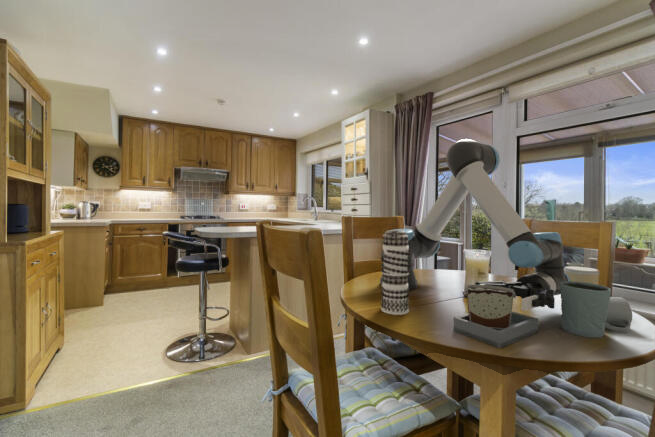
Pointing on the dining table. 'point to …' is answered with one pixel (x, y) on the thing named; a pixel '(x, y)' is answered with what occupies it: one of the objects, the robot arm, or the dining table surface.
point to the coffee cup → (582, 274)
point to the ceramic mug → (618, 314)
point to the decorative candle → (395, 272)
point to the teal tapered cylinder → (584, 308)
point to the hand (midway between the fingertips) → (494, 298)
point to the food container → (490, 305)
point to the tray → (498, 337)
